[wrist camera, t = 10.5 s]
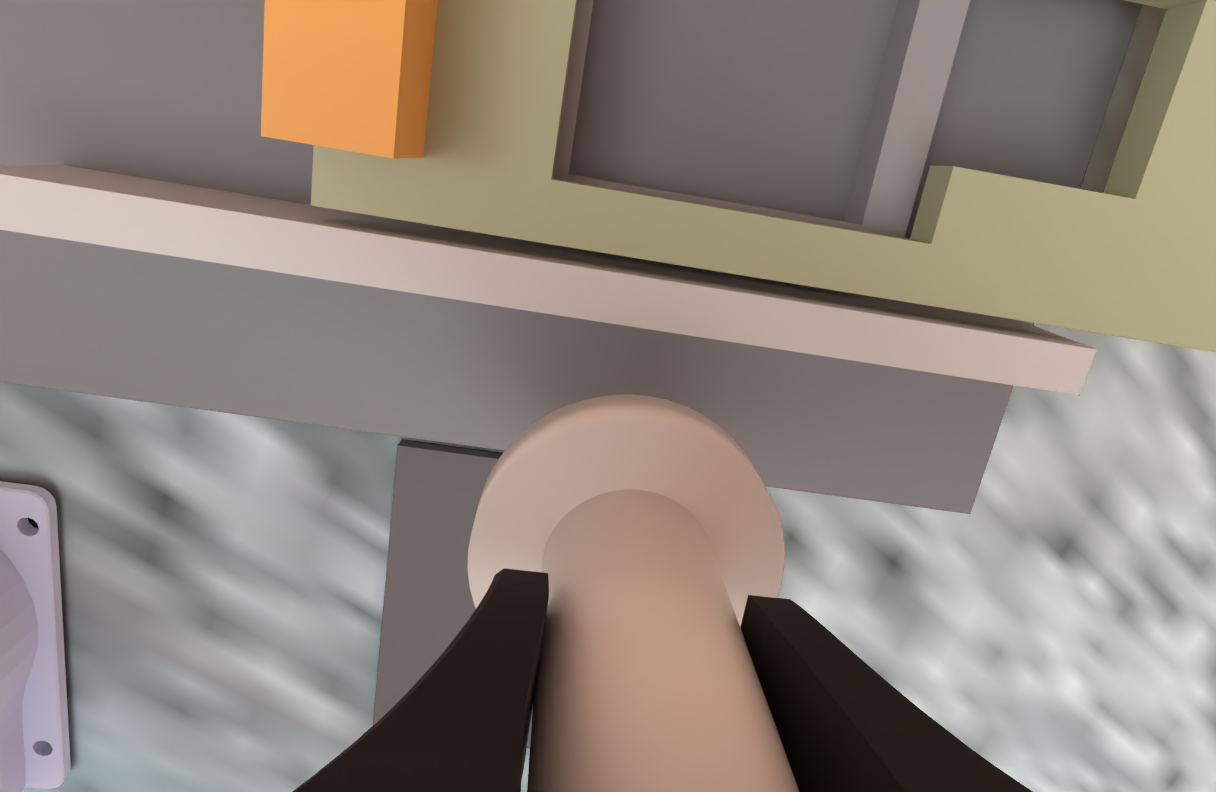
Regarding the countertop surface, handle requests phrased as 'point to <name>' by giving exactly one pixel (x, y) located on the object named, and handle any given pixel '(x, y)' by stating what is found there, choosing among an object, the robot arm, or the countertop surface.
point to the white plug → (639, 597)
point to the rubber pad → (427, 562)
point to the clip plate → (730, 238)
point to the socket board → (537, 272)
